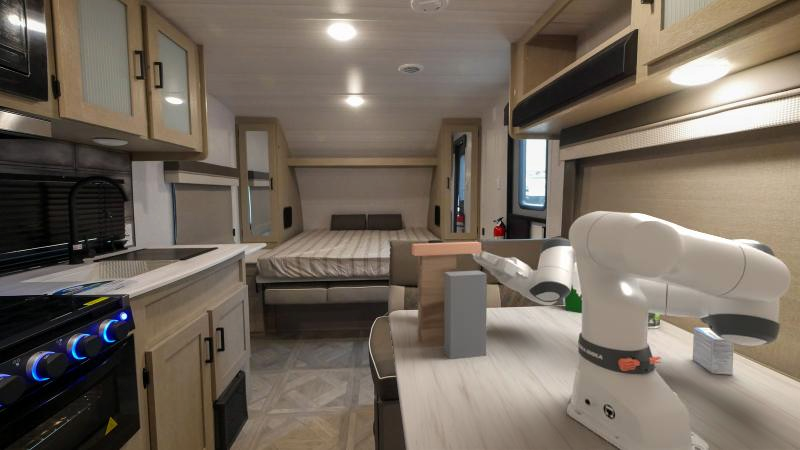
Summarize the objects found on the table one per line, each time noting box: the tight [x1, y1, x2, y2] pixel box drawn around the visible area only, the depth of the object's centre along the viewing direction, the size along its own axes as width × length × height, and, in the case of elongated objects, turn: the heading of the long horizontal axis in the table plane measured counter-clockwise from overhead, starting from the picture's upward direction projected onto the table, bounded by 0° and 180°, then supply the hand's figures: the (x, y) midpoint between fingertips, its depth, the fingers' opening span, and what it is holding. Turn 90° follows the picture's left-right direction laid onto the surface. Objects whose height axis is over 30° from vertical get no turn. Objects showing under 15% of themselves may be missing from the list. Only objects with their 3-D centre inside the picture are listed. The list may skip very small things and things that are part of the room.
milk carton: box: [564, 263, 582, 314], centre depth 135 cm, size 9×9×20 cm
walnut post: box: [417, 254, 458, 348], centre depth 105 cm, size 5×10×26 cm, turn 102°
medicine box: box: [692, 327, 735, 376], centre depth 89 cm, size 8×4×9 cm, turn 168°
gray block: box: [443, 270, 488, 360], centre depth 97 cm, size 5×10×22 cm, turn 102°
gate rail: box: [411, 241, 482, 257], centre depth 105 cm, size 3×20×3 cm, turn 102°
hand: (474, 251), depth 107 cm, fingers open, 8 cm apart
